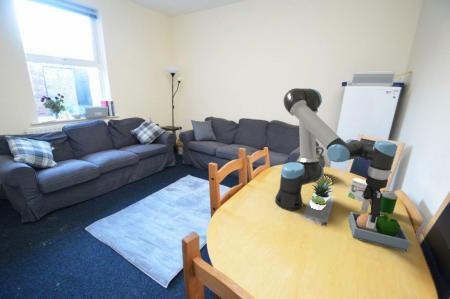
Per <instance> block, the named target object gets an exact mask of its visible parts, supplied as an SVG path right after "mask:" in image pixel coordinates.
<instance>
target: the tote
mask: <svg viewBox="0 0 450 299" xmlns="http://www.w3.org/2000/svg"><path fill="white" fill-rule="evenodd" d="M349 212H350V213H349V217H348V223H349V228H350V231H351V236H352V238H353V239H355V240H361V241H363V242H368V243H370V244H371V243H372V244H374V245H375V244H376V245H379V246H384V247H387V248H391V249H395V250H400V251H404V252H408V251H409V247H410V244H411V241H410V239H409V238H408V235H407V233H405V230H404V229H403V228H402V226H401V225H400V229H399V231H398V232H397V234H396V235H395V236H394V237H392V236H387V235H383V234H379V233H378V231H377V229H376V227H375V229H374V230H373V231H367V230H363V229H359V228H358V226H357V223H356V222H357V218H358V217H359V216H360V215H362V214H363V213H358V212H353V211H349Z"/></svg>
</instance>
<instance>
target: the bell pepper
mask: <svg viewBox="0 0 450 299" xmlns="http://www.w3.org/2000/svg"><path fill="white" fill-rule="evenodd" d="M385 214H386V215H387V216H386V215H382V214H380V217H377V220H376V229H377V231H378V233H379V234H383V235H387V236H392V237H394V236H395V235H396V234H397V232H398V231H399V229H400V226H401V224H400V223H399V221H398V220H397V219H396V218H391V215H389V214H388V213H387V212H385Z"/></svg>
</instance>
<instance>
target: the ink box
mask: <svg viewBox="0 0 450 299" xmlns="http://www.w3.org/2000/svg"><path fill="white" fill-rule="evenodd" d="M366 186H367V183H366V179H365V180H364V179H362V178H358V177H354V178H351V183H350V187H349V190H348V194H347V197H349V198H351V199H355V200H357V201H358V202H361V203H362V202H363V199H364V198H363V196H364V195H363V192H364V190H365V188H366Z"/></svg>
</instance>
